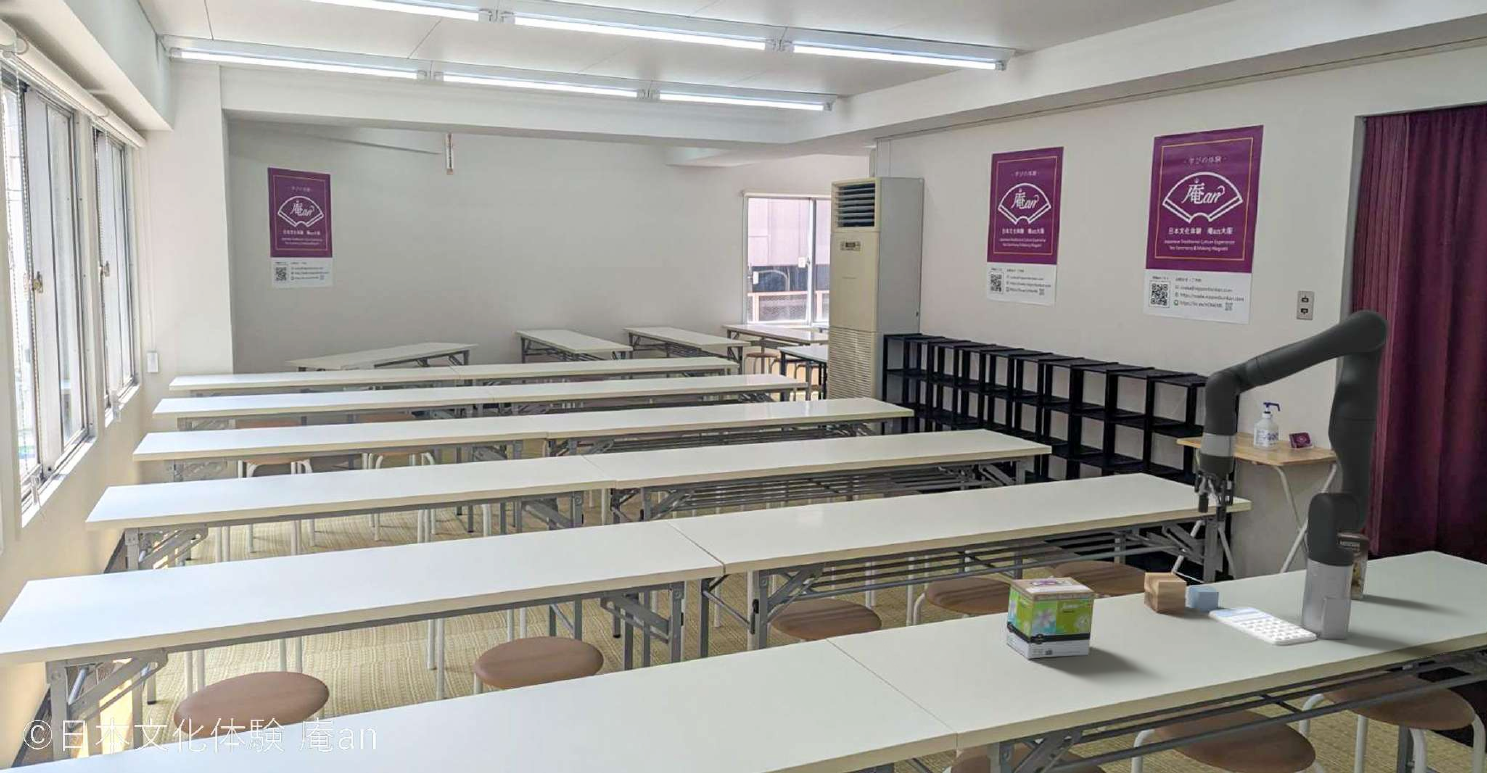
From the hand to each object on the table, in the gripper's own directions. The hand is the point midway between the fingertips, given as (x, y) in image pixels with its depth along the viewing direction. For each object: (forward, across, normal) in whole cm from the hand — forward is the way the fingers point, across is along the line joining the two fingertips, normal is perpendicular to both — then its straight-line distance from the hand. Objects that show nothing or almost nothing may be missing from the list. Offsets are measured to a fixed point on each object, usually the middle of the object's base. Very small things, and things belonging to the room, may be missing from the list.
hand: (1211, 516), depth 252 cm
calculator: (+24, -13, -8) cm, 28 cm away
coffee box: (+23, +12, -43) cm, 50 cm away
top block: (+19, -1, +10) cm, 22 cm away
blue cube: (+23, 0, 0) cm, 23 cm away
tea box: (+24, -28, +49) cm, 61 cm away
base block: (+23, -1, +10) cm, 25 cm away
